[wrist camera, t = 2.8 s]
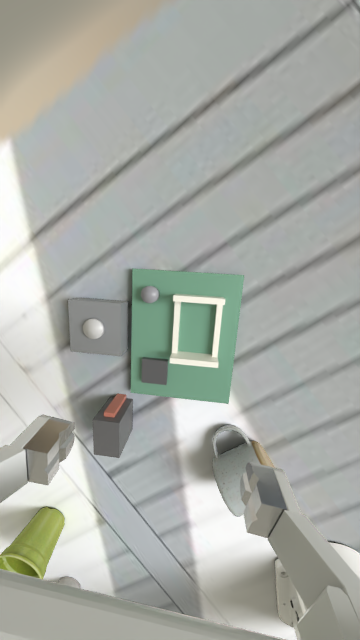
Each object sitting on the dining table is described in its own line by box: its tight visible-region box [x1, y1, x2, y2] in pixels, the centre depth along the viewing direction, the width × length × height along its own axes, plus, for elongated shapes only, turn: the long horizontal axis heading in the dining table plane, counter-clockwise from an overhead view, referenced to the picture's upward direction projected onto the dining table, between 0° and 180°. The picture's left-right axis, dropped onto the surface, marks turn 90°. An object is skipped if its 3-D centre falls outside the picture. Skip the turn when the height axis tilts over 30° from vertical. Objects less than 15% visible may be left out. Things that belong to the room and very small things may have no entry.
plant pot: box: [0, 507, 64, 579], centre depth 38 cm, size 9×9×9 cm
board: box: [131, 269, 244, 404], centre depth 30 cm, size 20×16×4 cm
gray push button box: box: [68, 298, 128, 356], centre depth 31 cm, size 8×8×4 cm
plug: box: [93, 394, 133, 458], centre depth 33 cm, size 7×4×6 cm, turn 176°
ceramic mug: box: [213, 425, 275, 517], centre depth 31 cm, size 11×8×8 cm
